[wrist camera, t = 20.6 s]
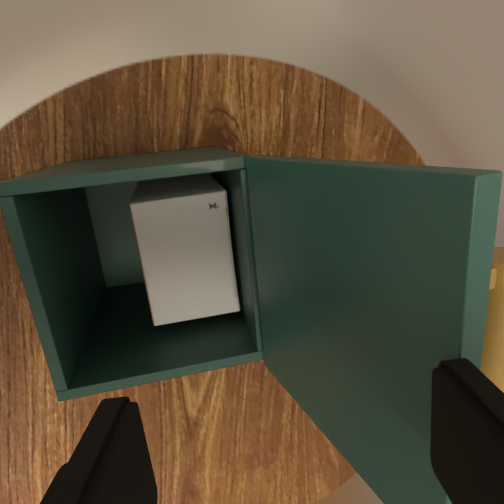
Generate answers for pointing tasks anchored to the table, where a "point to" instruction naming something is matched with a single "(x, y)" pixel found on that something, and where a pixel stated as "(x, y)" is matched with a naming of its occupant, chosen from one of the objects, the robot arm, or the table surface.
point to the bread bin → (121, 272)
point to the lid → (376, 300)
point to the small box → (185, 247)
